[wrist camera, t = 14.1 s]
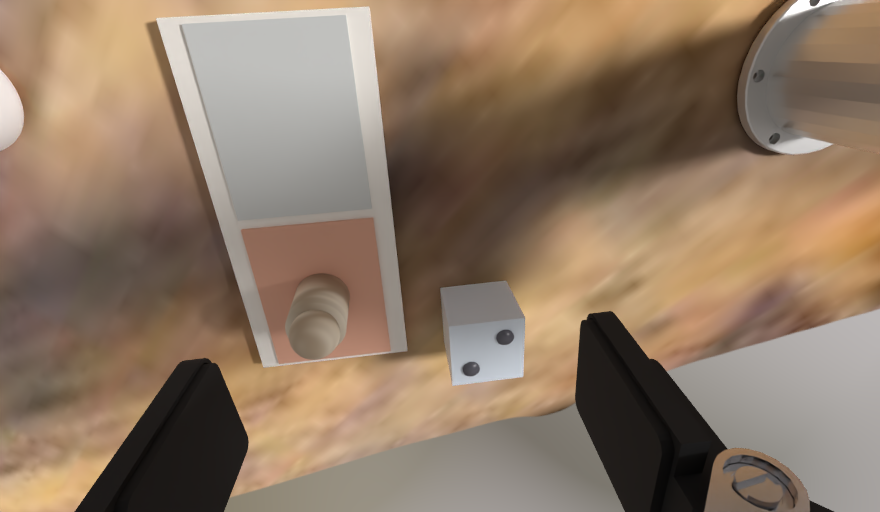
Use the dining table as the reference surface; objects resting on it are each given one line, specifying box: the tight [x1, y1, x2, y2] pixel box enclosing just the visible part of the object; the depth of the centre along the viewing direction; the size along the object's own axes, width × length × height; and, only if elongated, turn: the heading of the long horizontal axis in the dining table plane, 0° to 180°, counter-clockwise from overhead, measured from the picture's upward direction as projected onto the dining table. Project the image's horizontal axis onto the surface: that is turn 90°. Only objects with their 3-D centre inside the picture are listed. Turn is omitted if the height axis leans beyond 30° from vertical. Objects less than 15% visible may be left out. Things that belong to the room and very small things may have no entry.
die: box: [440, 281, 525, 386], centre depth 37 cm, size 6×6×6 cm
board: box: [156, 7, 407, 368], centre depth 33 cm, size 13×28×1 cm, turn 4°
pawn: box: [285, 273, 350, 360], centre depth 33 cm, size 4×4×7 cm
